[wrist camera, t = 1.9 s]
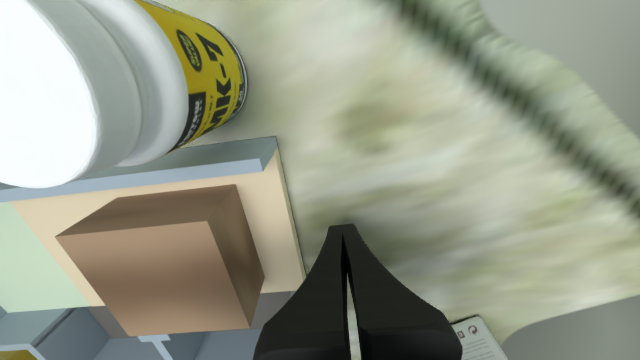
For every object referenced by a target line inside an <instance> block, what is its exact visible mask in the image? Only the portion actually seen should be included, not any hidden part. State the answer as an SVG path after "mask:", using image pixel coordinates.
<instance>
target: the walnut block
mask: <svg viewBox="0 0 640 360" xmlns="http://www.w3.org/2000/svg"><path fill="white" fill-rule="evenodd" d="M55 238H56V240H57V241H58V242H59V244H60V245H61V246H62V248H63V249H64V250H65V252H66V253H67V254H68V256H69V257H70V258H71V260H72V261H73V262H74V264H75V265H76V266H77V268H78V269H79V270H80V272H81V273H82V274H83V276H84V277H85V278H86V280H87V281H88V282H89V284H90V285H91V286H92V288H93V289H94V290H95V292H96V293H97V294H98V296H99V297H100V298H101V300H102V301H103V302H104V304H105V305H106V306H107V308H108V309H109V310H110V312H111V313H112V314H113V316H114V317H115V318H116V320H117V321H118V322H119V324H120V325H121V326H122V328H123V329H124V330H125V332H126V333H127V334H128V336H144V335H158V334H173V333H188V332H203V331H217V330H232V329H247V328H250V327H251V323H252V320H253V316H254V313H255V309H256V306H257V302H258V299H259V296H260V292H261V289H262V285H263V282H264V278H265V276H264V273H263V269H262V266H261V263H260V260H259V257H258V253H257V250H256V247H255V244H254V241H253V238H252V234H251V231H250V228H249V225H248V222H247V219H246V215H245V212H244V209H243V206H242V203H241V199H240V196H239V193H238V190H237V187H236V184H230V185H222V186H213V187H204V188H195V189H187V190H178V191H169V192H160V193H152V194H143V195H134V196H126V197H117V198H115V199H114V200H112V201H111V202H109V203H107V204H106V205H104V206H103V207H101V208H100V209H98V210H96V211H95V212H93V213H92V214H90V215H88V216H87V217H85V218H84V219H82V220H80V221H79V222H77V223H76V224H74V225H72V226H71V227H69V228H68V229H66V230H64V231H63V232H61V233H60V234H58V235H56V236H55Z"/></svg>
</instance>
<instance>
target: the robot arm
mask: <svg viewBox="0 0 640 360" xmlns="http://www.w3.org/2000/svg"><path fill="white" fill-rule="evenodd" d="M347 274H348V279H349V284H350V289H351V293H352V298H353V303H354V308H355V313H356V319H357V327H358V335H359V343H360V352H361V360H461V359H462V354H463V346H462V344H461V342H460V340H459V338H458V336H457V334H456V332H455V331H454V329H453V327H452V326H451V324H450V323H449V321H448V320H447V318H446V317H445V315H444V314H443V313H442V312H441V311H440V310H438V309H436V308H435V307H433V306H432V305H430V304H429V303H427V302H425V301H424V300H422V299H421V298H420V297H418V296H417V295H416V294H414V293H413V292H412V291H410V290H409V289H408V288H407V287H405V286H404V285H403V284H402V283H401V282H399V281H398V280H397V279H396V278H395V277H394V276H393V275H392V274H391V273H390V272H389V271H388V270H387V269H386V268H385V267H384V266H383V265H382V264H381V263H380V262H379V261H378V259H377V258H376V257H375V256H374V255H373V253H372V252H371V251H370V249H369V248H368V247H367V245H366V244H365V242H364V241H363V239H362V238H361V236H360V234H359V233H358V231H357V229H356V226H355V225H354V224H345V225H335V226H330V227H329V229H328V234H327V237H326V240H325V242H324V245H323V247H322V250H321V252H320V254H319V256H318V258H317V260H316V262H315V264H314V266H313V267H312V269H311V271H310V272H309V274H308V275H307V277H306V278H305V280H304V281H303V283H302V284H301V285H300V287H299V288H298V289H297V291H296V292H295V293H294V294H293V296H292V297H291V298H290V299H289V300H288V301H287V302H286V303H285V305H284V306H283V307H282V308H281V309H280V310H279V311H278V312H277V313H276V314H275V315H274V316H273V317H272V318H271V319H270V320H268V321H267V322H266V323H265V324H264V326H263V328H262V331H261V333H260V336H259V339H258V341H257V344H256V347H255V351H254V356H253V360H351V352H350V341H349V330H348V318H347Z"/></svg>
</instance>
